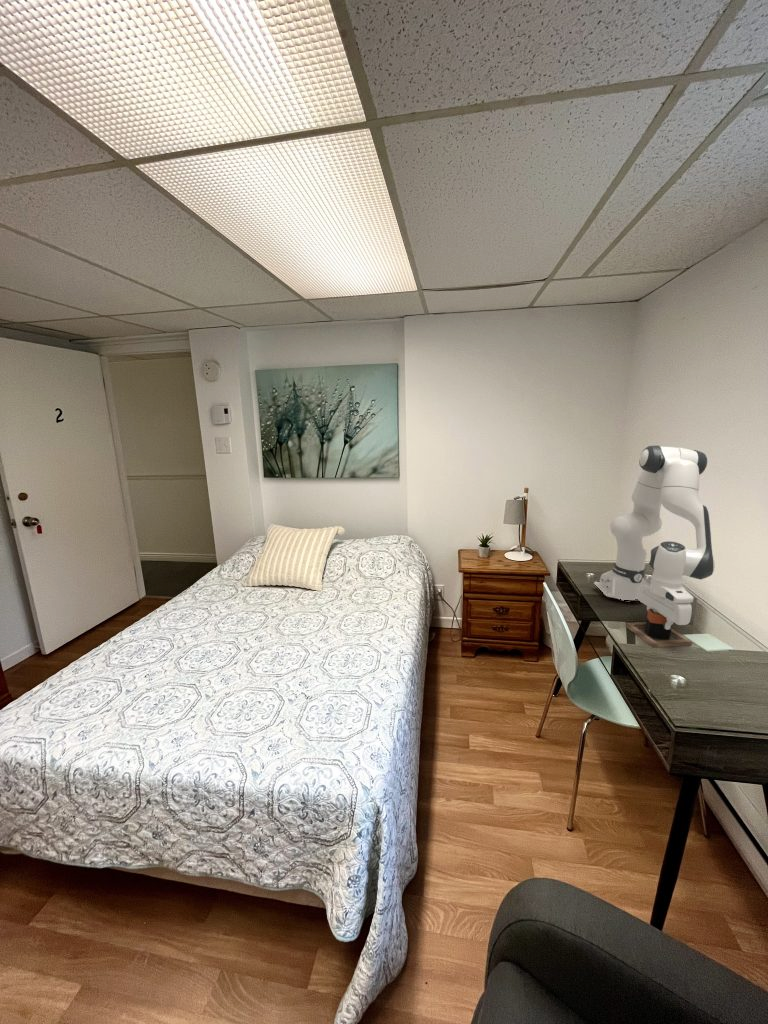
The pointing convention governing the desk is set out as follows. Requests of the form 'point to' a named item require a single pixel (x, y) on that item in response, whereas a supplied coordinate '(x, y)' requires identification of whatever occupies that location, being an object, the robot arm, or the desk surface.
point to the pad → (708, 642)
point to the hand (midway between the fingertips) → (658, 623)
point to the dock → (664, 643)
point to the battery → (656, 625)
